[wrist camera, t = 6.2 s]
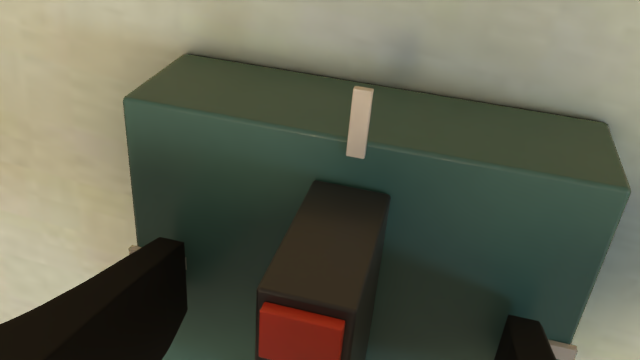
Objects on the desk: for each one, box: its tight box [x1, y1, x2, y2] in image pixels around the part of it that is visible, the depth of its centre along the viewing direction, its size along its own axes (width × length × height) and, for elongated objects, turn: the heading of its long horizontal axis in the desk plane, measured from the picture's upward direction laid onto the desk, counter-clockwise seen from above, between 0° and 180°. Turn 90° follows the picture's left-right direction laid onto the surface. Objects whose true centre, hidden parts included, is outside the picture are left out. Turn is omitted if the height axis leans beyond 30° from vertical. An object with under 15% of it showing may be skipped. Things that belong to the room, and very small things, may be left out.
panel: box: [123, 54, 631, 360], centre depth 15 cm, size 10×10×3 cm
